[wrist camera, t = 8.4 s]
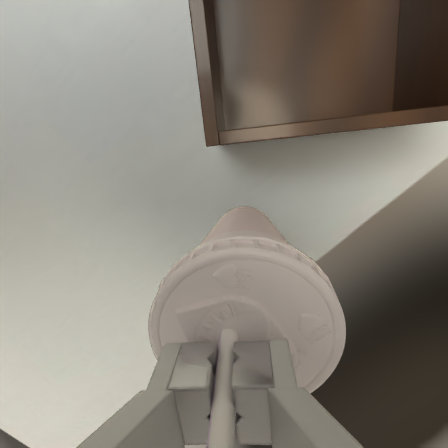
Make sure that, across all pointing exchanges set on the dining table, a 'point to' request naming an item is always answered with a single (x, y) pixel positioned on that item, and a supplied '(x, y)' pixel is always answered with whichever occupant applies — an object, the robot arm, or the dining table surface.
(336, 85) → the brown wooden open box
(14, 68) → the dining table surface
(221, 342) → the smoothie
